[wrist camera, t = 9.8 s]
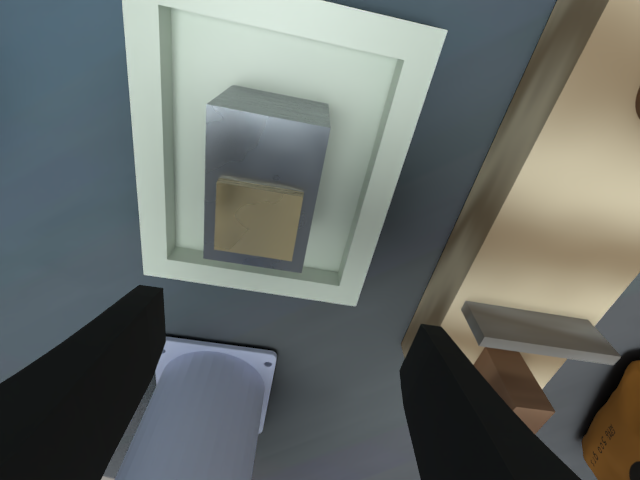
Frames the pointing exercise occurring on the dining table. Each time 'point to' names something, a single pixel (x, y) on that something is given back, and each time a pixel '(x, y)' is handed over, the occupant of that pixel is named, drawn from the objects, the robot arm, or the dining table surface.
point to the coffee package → (617, 432)
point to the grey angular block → (262, 176)
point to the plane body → (549, 212)
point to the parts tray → (286, 79)
